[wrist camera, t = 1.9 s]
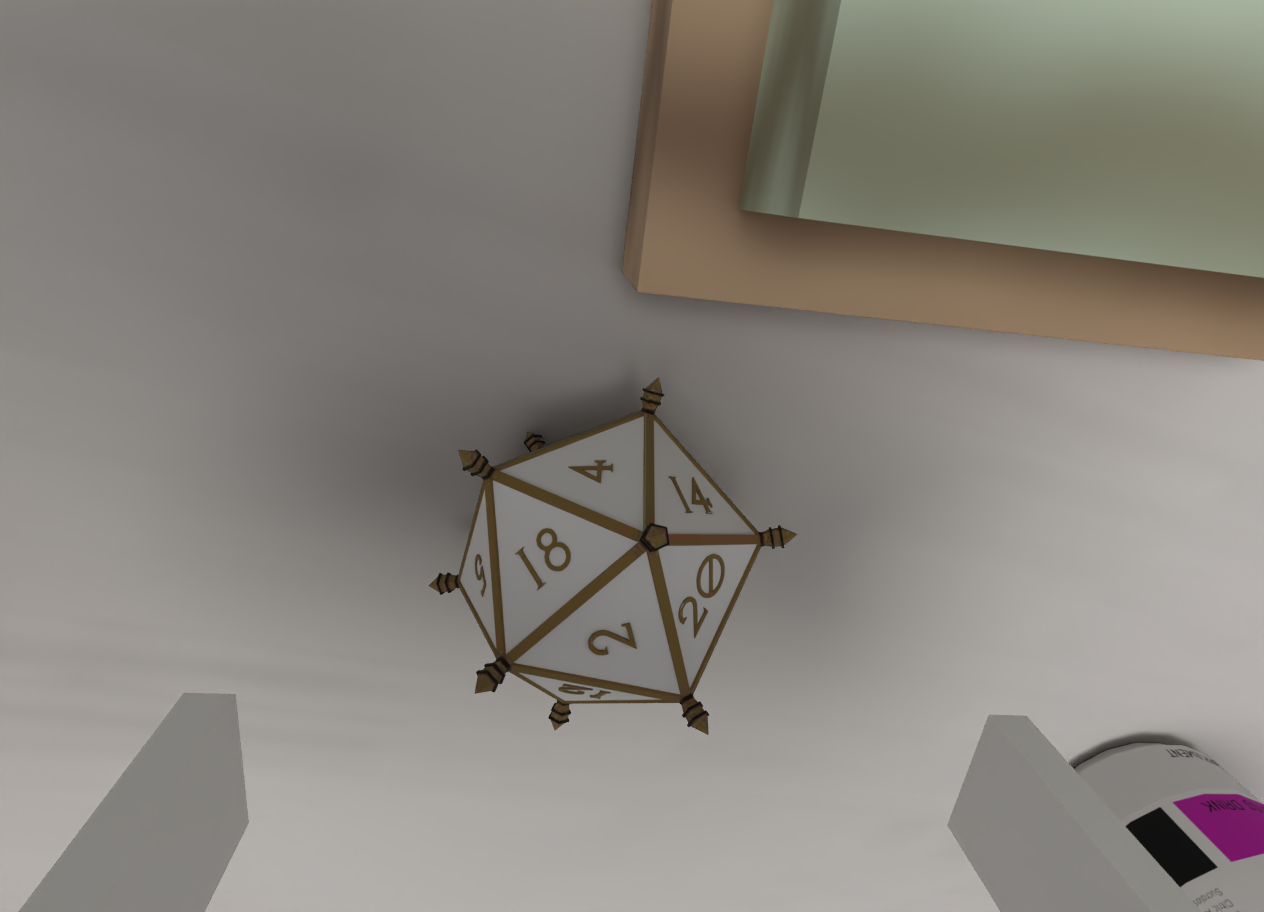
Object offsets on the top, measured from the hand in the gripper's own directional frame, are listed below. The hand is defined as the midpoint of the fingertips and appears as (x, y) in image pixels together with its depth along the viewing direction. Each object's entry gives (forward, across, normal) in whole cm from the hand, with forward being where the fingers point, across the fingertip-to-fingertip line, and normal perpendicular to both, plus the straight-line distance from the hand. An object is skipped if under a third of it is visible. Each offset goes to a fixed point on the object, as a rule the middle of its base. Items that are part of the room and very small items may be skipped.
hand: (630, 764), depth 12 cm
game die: (+11, 0, 0) cm, 11 cm away
